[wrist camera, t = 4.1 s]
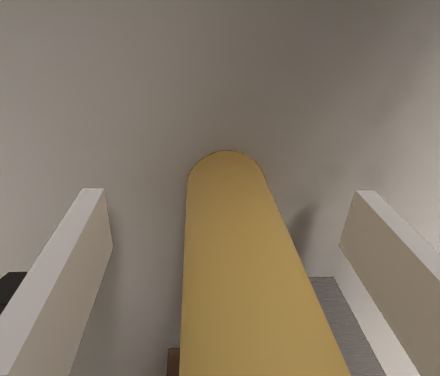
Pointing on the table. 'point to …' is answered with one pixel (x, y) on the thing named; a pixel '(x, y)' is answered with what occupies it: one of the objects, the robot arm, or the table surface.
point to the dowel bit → (246, 282)
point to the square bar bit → (346, 329)
